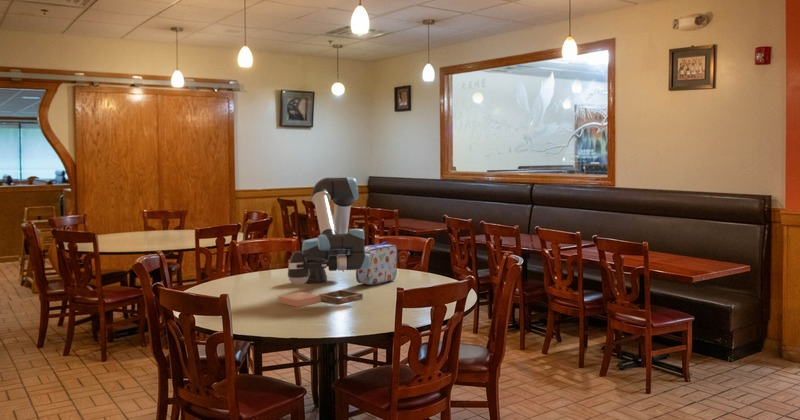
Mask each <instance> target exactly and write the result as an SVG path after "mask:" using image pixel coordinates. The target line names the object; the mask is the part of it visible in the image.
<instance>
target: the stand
mask: <svg viewBox="0 0 800 420" xmlns="http://www.w3.org/2000/svg"><path fill="white" fill-rule="evenodd" d="M321 302H322V300H321V299H320V295H318V294H313V293H311V292H310V293H309V292H304V291H299V292H294V293H293V292H292V293H289V294H283V295H279V296H277V303H278V304H283V305H288V306H293V307H296V308H298V307H303V306H308V305H313V304H317V303H321Z"/></svg>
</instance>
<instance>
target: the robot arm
mask: <svg viewBox="0 0 800 420" xmlns="http://www.w3.org/2000/svg"><path fill="white" fill-rule="evenodd" d="M358 199H359V186H358V182H357V179H356V178H355V177H351V176H350V177H348V176H347V177H324V178H322V179H320V180H318V182H317V183H315V185H314V186H313V188H312V190H311V202H312V204H313V205H314V207H315V211H316V217H317V222H318V226H319V228H318V229H319V235H318V236H317V237H314V238H310V239H305V240H304V241H302V244H301V245H302V246H301V252H302V253H303V254H306V253H308V252H309V255H307V256H306V257H305V258H306V260H307V263H306V262H304V264H303V263H289V262H290V259H288V266H289V269H309V273H310V275H309V278H308V280H307V282H305V283H304V284H319V283H325V282H327V281H328V275H327V273H326V268H327V267H328V271H330V272H333V271H334V272H335V271H341V272H345V271H353V270H354V271H356V270H362V269H368V268H369V266H370V258H369V254H366V253H365V246H366V243H365V240H366V238H365V230H364V229H362V228H351V229H349V222H350V215H351V206H352V205H354V204H355V201H357V200H358ZM331 201H332V203H333V204H334V206H333V207H334V208H333V211H332V206H331Z"/></svg>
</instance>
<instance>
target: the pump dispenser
mask: <svg viewBox="0 0 800 420" xmlns="http://www.w3.org/2000/svg"><path fill="white" fill-rule="evenodd" d="M307 255H309V252H308V253H306V254H303V253H302V251H301V250H297V251H294V252H293V253H292V255H291V257H290V259H289V260H290V262H289V261H288V264H289V263H303V264H304V262H306V263H307V260H306V258H305V257H306V256H307ZM287 267H288V268H287V277H288V280H289V281H290V283H291V284H294V285H303V284H306V283H305V282H307V280H308V278H309V275H310V273H309V269H289V265H288V266H287Z"/></svg>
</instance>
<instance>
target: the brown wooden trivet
mask: <svg viewBox="0 0 800 420" xmlns="http://www.w3.org/2000/svg"><path fill="white" fill-rule="evenodd" d="M317 295H320V299H321V302H322V301H323V302H329V303H333V304H338V305H341V304H345V303H351V302H355V301H358V300H363V298H364V297H363V295H364V294H363V293H360V292H356V291H350V290H343V289H339V290H334V291H328V292H324V293H320V294H317ZM340 296H343V297H340Z"/></svg>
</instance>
